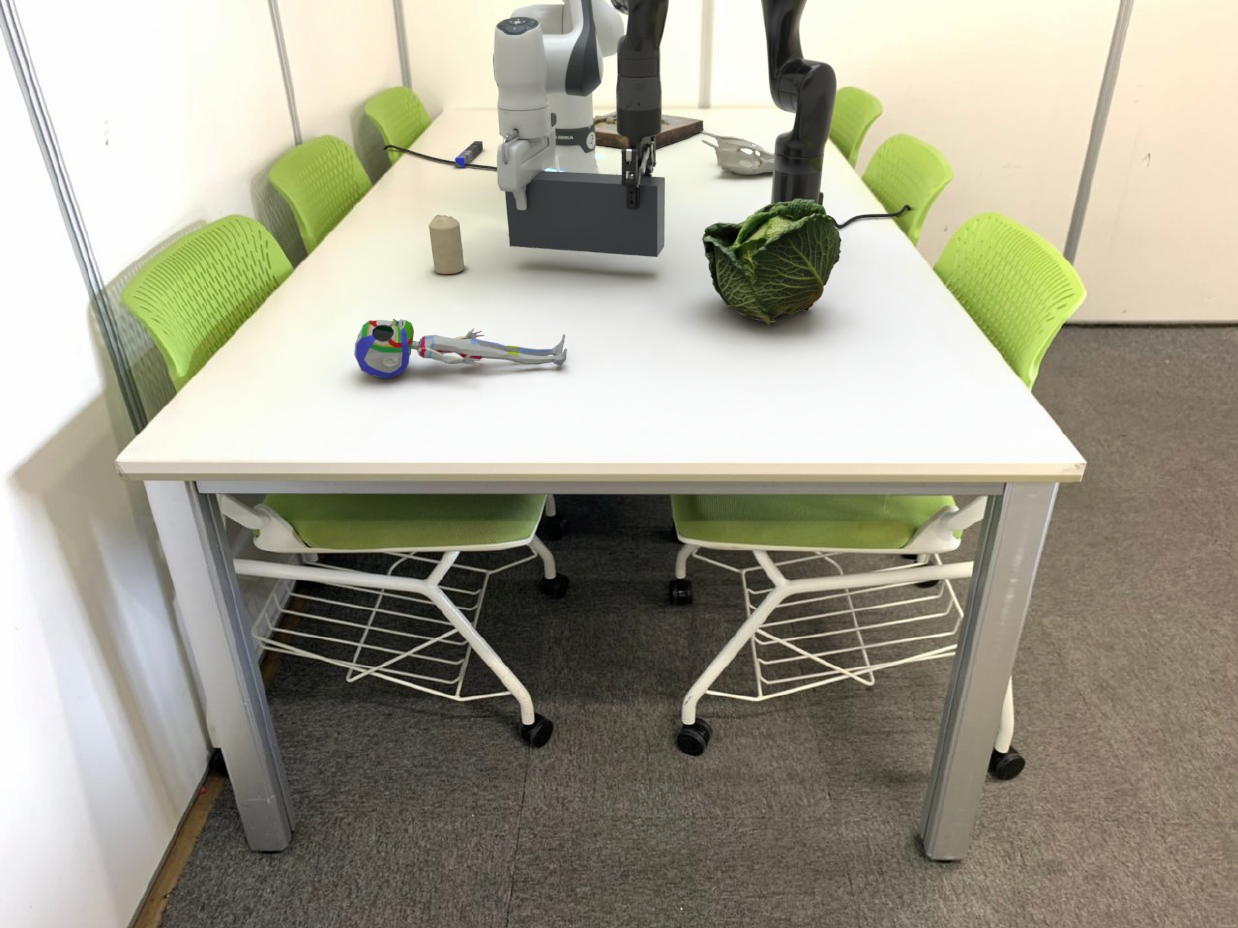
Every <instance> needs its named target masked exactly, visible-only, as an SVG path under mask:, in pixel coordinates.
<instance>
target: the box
mask: <svg viewBox="0 0 1238 928" xmlns="http://www.w3.org/2000/svg"><path fill="white" fill-rule="evenodd" d="M630 179H633V175H630ZM621 181H622V174H613V173H612V174H611V173H599V174H594V173H575V172H556V171H542V172H540V173H539V174H538V175H536V176H535V177H534V178H533V179H532V181H531V182H530V183H528V184H527V185H526V191H525V194H526V198H528V204H529V207H528V208H527V209H526V210H518V209H517V205H516V199H515V197H514V195H513V192H507V191H504V194H505V208H506V217H507V219H506V220H507V229H508V230H507V231H508V239H509V241H508V242H509V247H515V248H516V247H517V248H527V249H528V248H529V249H541V250H542V249H543V250H555V251H556V250H557V251H569V252H581V253H582V252H584V253H595V254H598V253H599V254H610V255H611V254H612V255H622V256H624V255H625V256H636V257H637V256H638V257H650V258H651V257H652V258H658V257H659V256H660V254H661V252H662V251H663V250H664V248H665V226H666V225H665V224H666V222H665V221H666V220H665V218H666V217H665V216H666V215H665V214H666V212H665V210H666V207H665V206H666V177H665V176H652V177H650V176H641V182H640V183H641V184H640V207H639V209H637V210H633V209H628V208H627V207H626V187H625V186H622V183H621Z"/></svg>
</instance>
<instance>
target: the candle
mask: <svg viewBox="0 0 1238 928" xmlns="http://www.w3.org/2000/svg"><path fill="white" fill-rule="evenodd" d="M428 230H429V231H428V232H429V237H430V247H431V252H432V262H433V269H434V271H435V272H436V273H438V274H442V275H451V274H457V273H460V272H462V271H463V270H464V269H465V260H464V253H463V252H464V251H463V243H462V233H461V224H460V222H459V221H458V220H457V219H456V218H454V217H453V216H451V215H450V216H449V215H444V214H436V215H435V216H434V217H433V218H432V220H431V221H430V222H429V224H428Z"/></svg>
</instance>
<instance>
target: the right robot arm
mask: <svg viewBox="0 0 1238 928" xmlns="http://www.w3.org/2000/svg"><path fill="white" fill-rule="evenodd" d="M807 1H808V0H760V4H761V11H762V20H763V25H764V33H765V40H766V43H765V44H766V57H767V58H766V59H767V73H768V85H769V92H770V96H771V99H772V102H773V104H774V105H775V106H776V107H777V108H778V109H779V110H780V111H781V110H782V111H783V112H788V113H791V114H795V117H794V122H793V127H792V129H791V130H790V131H785V132H782V133H780V134H778V135H777V137H776V138H775V143H774V152H773V153H774V165H773V172H772V179H771V180H772V181H771V193H770V194H771V195H770V204H774V203H778V202H791V201H793V200H794V199H800V198H801V199H802V200H815V203H816V204H819V205H821V206H823V207H824V193H823V192H822V191H821V185H822V178H823V169H824V156H825V147H826V144H827V142H828V139H829V137H830V134H831V130H832V123H833V116H834V111H835V104H836V97H837V89H838V85H837V84H838V81H837V75H836V71H835V69H834V68H833V67H832V66H831V65H830V64H829V63H827V62H823V61H819V60H814V59H807V58H805V57H804V53H803V48H802V44H801V43H802V41H801V34H800V32H801V31H800V28H801V21H802V20H801V19H802V16H803V13H804V10H805V7H806V5H807ZM610 4H611V6H612V7H614V8H615V9H616V10H617V11H618V13H621V14H623V15H625V16H627V24H626V32H625V33H624V35H623V36H622V37H621V38H620V39H619V41H618V46H617V53H616V71H617V72H616V73H617V75H616V78H617V79H616V85H615V105H616V111H615V112H616V114H617V133H618V134H619V135H621V136H626V137H627V138H628V146H626V148H621V152H620V153H621V175H622V181H621V183H622V186H625V187H626V207H627V208H628V209H633V210H637V209H639V207H640V184H641V183H640V182H641V176H650V177H653V175H652V174H653V173H654V171H655V168H656V167H657V166H656V165H657V161H656V160H657V155H656V154H657V149H656V135H658V134H660V132H661V130H662V114H663V110H662V109H663V104H662V103H663V87H662V78H661V77H662V76H661V60H662V59H661V57H662V56H661V55H662V54H661V45H662V40H663V36H664V33H665V28H666V22H667V18H668V14H669V13H668V12H669V5H670V0H610ZM630 175H631V176H633V179H630ZM906 210H908V211H911V210H912V208H911V206H910V204H905V205H904V206H903V207H901V209H900V210H899V211H896V212H892V213H868V214H867V213H866V214H859V215H855V216H852V217H851V218H849V219H848V220H847V221H845V222H844V223H842V224H838V222H837V220H836V218H834V217H833V216H831V215H829V214H826V215H827V217H828V218H831V219H832V220H833V221H834V226H835V227H836V229H843V228H845V227H847V226H848V225H850V224H851V223H853V222H854V221H856V220H861V219H873V218H876V219H877V218H894V217H898V216H900V215H902V214H903V213H904V212H905V211H906Z"/></svg>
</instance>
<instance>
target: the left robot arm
mask: <svg viewBox="0 0 1238 928" xmlns="http://www.w3.org/2000/svg"><path fill="white" fill-rule="evenodd" d="M561 1H562V2H563V3H554V4H553V3H552V4H549V3H547V4H545V3H543V4H532V5H527V6H522V7H519V8H515V9H514V10H513V12H512V13H511V15H510V16H509V18H504V19H502V20H500V21H499V22H498V23H497V24H496V25H495V28H494V36H493V38H494V39H493V54H492V67H493V76H494V81H495V84H496V86H497V91H498V97H497V101H496V102H497V103H496V106H497V107H496V108H497V119H498V130H499V135H500V136H501V137H503V140H502V142H501V144H499V145H498V148H497V151H496V166H492V165H485V164H484V165H483V164H475V163H465V167H470V168H476V169H477V168H479V169H487V170H494V171H496V174H497V176H496V178H497V187H498V188H499V190H500V191H502V192H505V191H507V192H513V195H514V197H515V199H516V205H517V209H518V210H526V209H527V208H528V207H529V204H528V198H526V194H525V191H526V185H527V184H528V183H530V182H531V181H532V179H533V178H534V177H535V176H536V175H538V174H539V173H540V172H542V171H556V172H575V173H594V174H600V173H599V168H598V163H597V159H600V160H601V159H602V160H604V159H606V154H600V153H596V145H597V144H596V133H595V124H594V123H593V118H594V102H593V101H594V100H593V99H594V98H593V92H595V91H596V90H597V88H598V87H600V85H601V84H602V80H603V78H604V66H605V65H604V58H607V57H611V56H615V55H617V46H618V41H619V39H620V38H621V37H622V36H623V35H625V25H624V24H625V23H624V22H623V21H624V20H623V18H622V16H621V14H620V12H619V11H617V10H616V9H615V8H614V6H613V5H612V4H609V2H607V1H606V0H561ZM388 149H395V150H398V151H401V152H405V153H409V154H411V155H414V156H417V157H421V158H424V159H428V160H432V161H436V162H440V163H445V164H450V165H455V160H449V159H443V158H438V157H436V156H430V155H426V154H424V153H420V152H416V151H413V150H410V149H407V148H404V147H403V148H402V147H401V146H396V145H393V144H387V145H385V146H384V147H383V149H382V150H383V151H387V150H388Z"/></svg>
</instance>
